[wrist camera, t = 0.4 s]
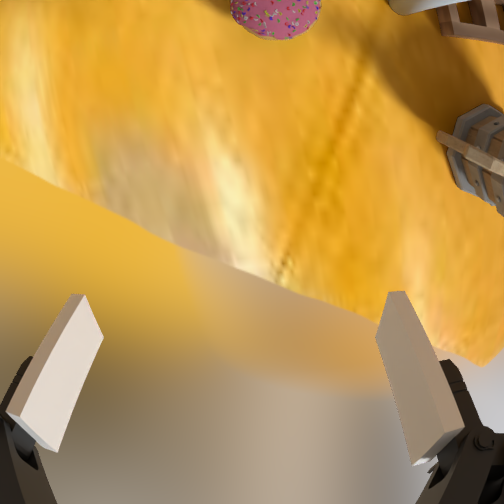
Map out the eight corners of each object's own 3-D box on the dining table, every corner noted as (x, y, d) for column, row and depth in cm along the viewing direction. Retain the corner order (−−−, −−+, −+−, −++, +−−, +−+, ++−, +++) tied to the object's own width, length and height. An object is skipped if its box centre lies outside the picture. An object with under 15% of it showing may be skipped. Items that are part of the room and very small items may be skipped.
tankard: (520, 127, 31) (592, 163, 18) (495, 202, 37) (555, 255, 24) (417, 69, 29) (496, 79, 16) (391, 163, 36) (452, 216, 23)
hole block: (428, -22, 22) (439, -26, 19) (505, -4, 20) (518, -5, 18) (441, 35, 26) (454, 34, 23) (515, 47, 24) (528, 48, 22)
